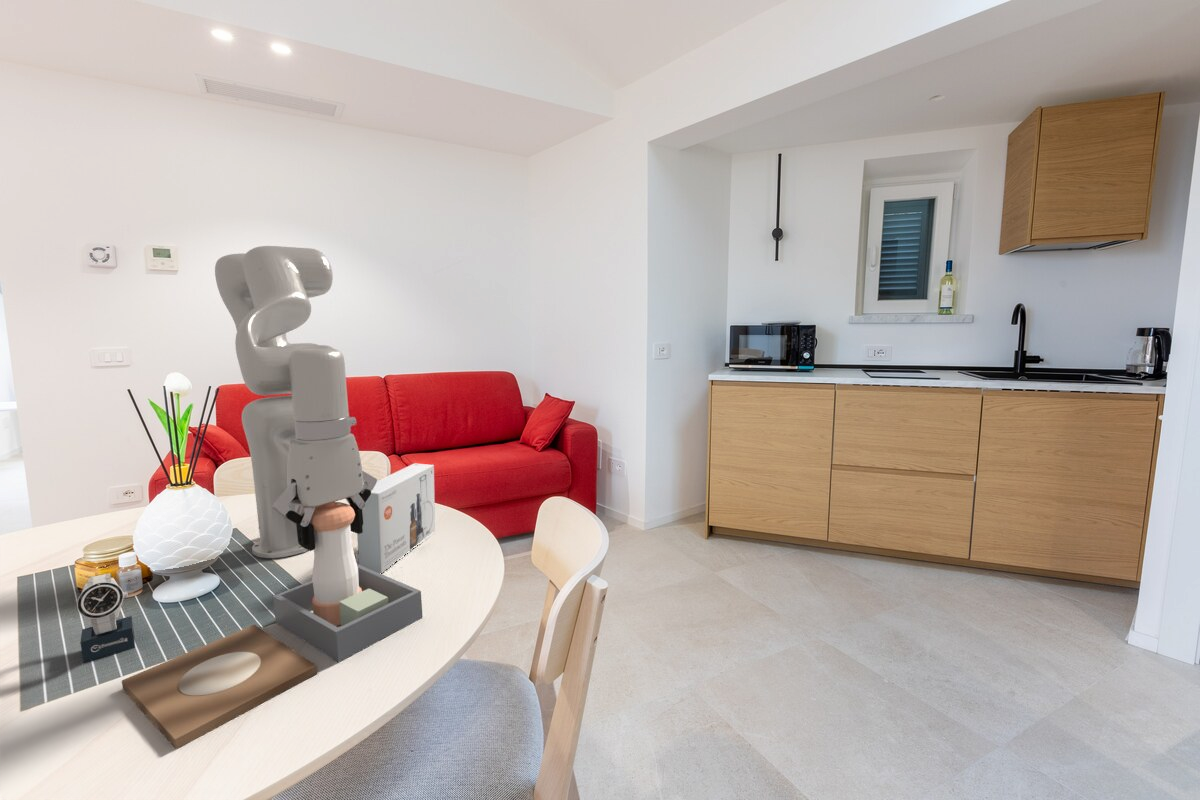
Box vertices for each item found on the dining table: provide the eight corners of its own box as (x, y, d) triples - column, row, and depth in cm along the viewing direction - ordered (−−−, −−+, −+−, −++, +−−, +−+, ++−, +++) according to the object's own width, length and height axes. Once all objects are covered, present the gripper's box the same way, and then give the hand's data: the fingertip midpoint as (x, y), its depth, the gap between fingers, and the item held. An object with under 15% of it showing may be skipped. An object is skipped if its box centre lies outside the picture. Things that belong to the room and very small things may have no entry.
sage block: (341, 632, 85) (339, 601, 84) (371, 617, 89) (369, 588, 88) (360, 642, 82) (358, 611, 82) (390, 627, 86) (388, 597, 86)
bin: (275, 622, 88) (272, 596, 87) (357, 587, 99) (356, 563, 98) (338, 662, 77) (336, 632, 77) (422, 617, 89) (420, 591, 88)
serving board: (122, 689, 72) (121, 679, 72) (255, 631, 85) (254, 623, 85) (176, 749, 62) (174, 738, 62) (317, 673, 75) (316, 664, 75)
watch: (82, 669, 77) (70, 594, 75) (86, 643, 83) (74, 573, 81) (135, 653, 80) (125, 581, 78) (135, 629, 86) (125, 562, 85)
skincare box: (383, 575, 104) (377, 493, 101) (357, 573, 105) (351, 491, 102) (438, 532, 124) (434, 463, 122) (416, 530, 125) (411, 462, 123)
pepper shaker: (360, 622, 88) (351, 505, 85) (309, 630, 85) (297, 510, 83) (366, 600, 94) (357, 491, 92) (318, 607, 92) (308, 495, 90)
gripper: (361, 418, 95) (368, 518, 97) (250, 437, 81) (262, 553, 83) (387, 422, 90) (395, 527, 93) (275, 443, 76) (287, 566, 79)
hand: (332, 538), depth 88 cm, fingers closed on pepper shaker, 7 cm apart
